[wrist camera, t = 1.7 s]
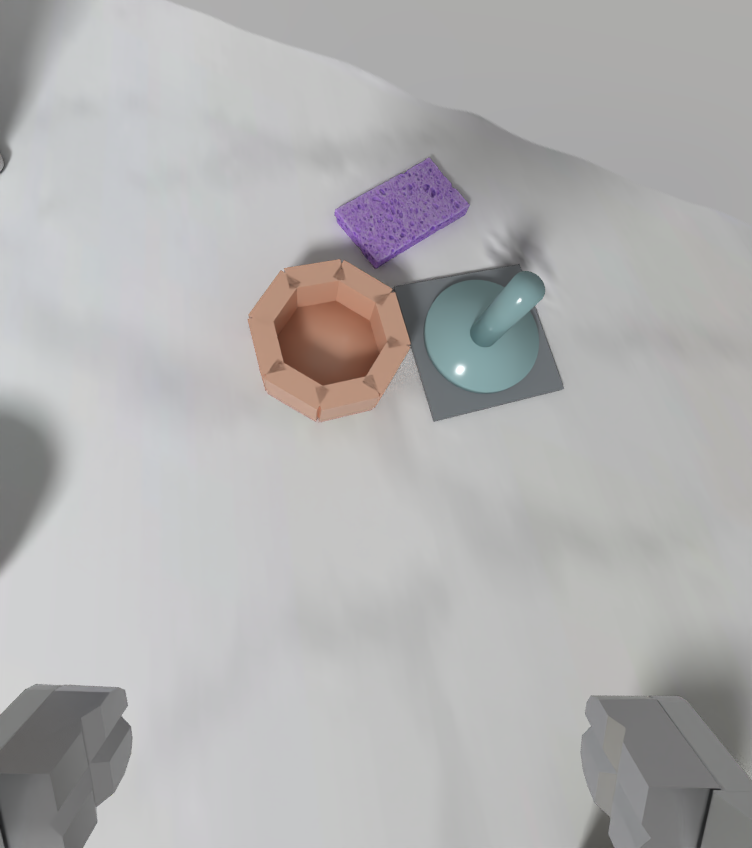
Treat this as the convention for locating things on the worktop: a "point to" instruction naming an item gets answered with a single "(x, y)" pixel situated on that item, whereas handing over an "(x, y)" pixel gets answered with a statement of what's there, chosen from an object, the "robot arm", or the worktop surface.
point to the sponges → (401, 212)
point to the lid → (484, 332)
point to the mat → (440, 391)
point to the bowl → (328, 339)
